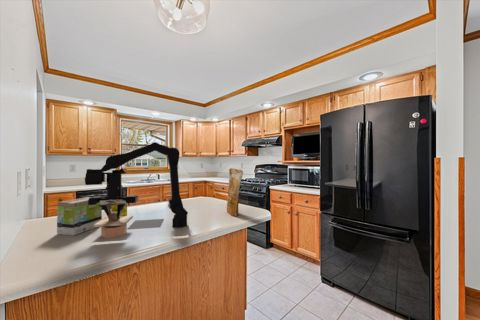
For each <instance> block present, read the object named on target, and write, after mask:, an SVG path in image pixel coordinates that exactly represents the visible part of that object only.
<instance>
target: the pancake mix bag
mask: <svg viewBox="0 0 480 320" xmlns="http://www.w3.org/2000/svg"><path fill="white" fill-rule="evenodd" d="M228 170H229V171H228V172H229V175H228V189H227V190H228V191H227V201H226V202H227V203H226V213H228V214H229V215H230V216H231V217H238V216H239V194H240V187H241V182H242V179H243V176H244V171H243V170H242V169H237V168H229V169H228Z"/></svg>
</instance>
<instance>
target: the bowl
mask: <svg viewBox="0 0 480 320" xmlns="http://www.w3.org/2000/svg"><path fill="white" fill-rule="evenodd" d="M127 226H128V223H127V224H126V225H119V226H103V227H100V229H101V230H100V231H101V234H100V236H101V238H104V239H112V238H118V237H120V236H121V237H122V236H124V235H125V234H126V233H127V231H128V227H127Z"/></svg>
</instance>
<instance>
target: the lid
mask: <svg viewBox="0 0 480 320" xmlns="http://www.w3.org/2000/svg"><path fill="white" fill-rule="evenodd" d="M133 218H134V216H133V215H127V216H121V217H120V218H119V219H118V218H117V212H112V213H111V214H109V215H108V216H106V217H102V220H100V221H99V222H97V223H96V224H94V225H93V227H96V228H101V227H103V226H119V225H126V224H127V225H128V223H129V222H130V221H131V220H132V219H133Z"/></svg>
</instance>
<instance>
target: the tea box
mask: <svg viewBox="0 0 480 320" xmlns="http://www.w3.org/2000/svg"><path fill="white" fill-rule="evenodd" d="M89 198H91V197H90V196H86V197H81V198H75V199H70V200H64V201H59V202H57V213H56V215H57V217H56V234H57V235H65V236H76V235H78V234H81V233H83V232H84V233H85V232H87V231H89V230H90V231H91V230H92V229H95V228H97V227H93V225H94V224H96V223H97V222H99V221H100V220H102V219H103V216H102V215H103V214H102V212H103V211H102V210H103V208H102V207H101V206H99V205H100V202H98V203H97V204H96V205H88V199H89Z"/></svg>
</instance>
